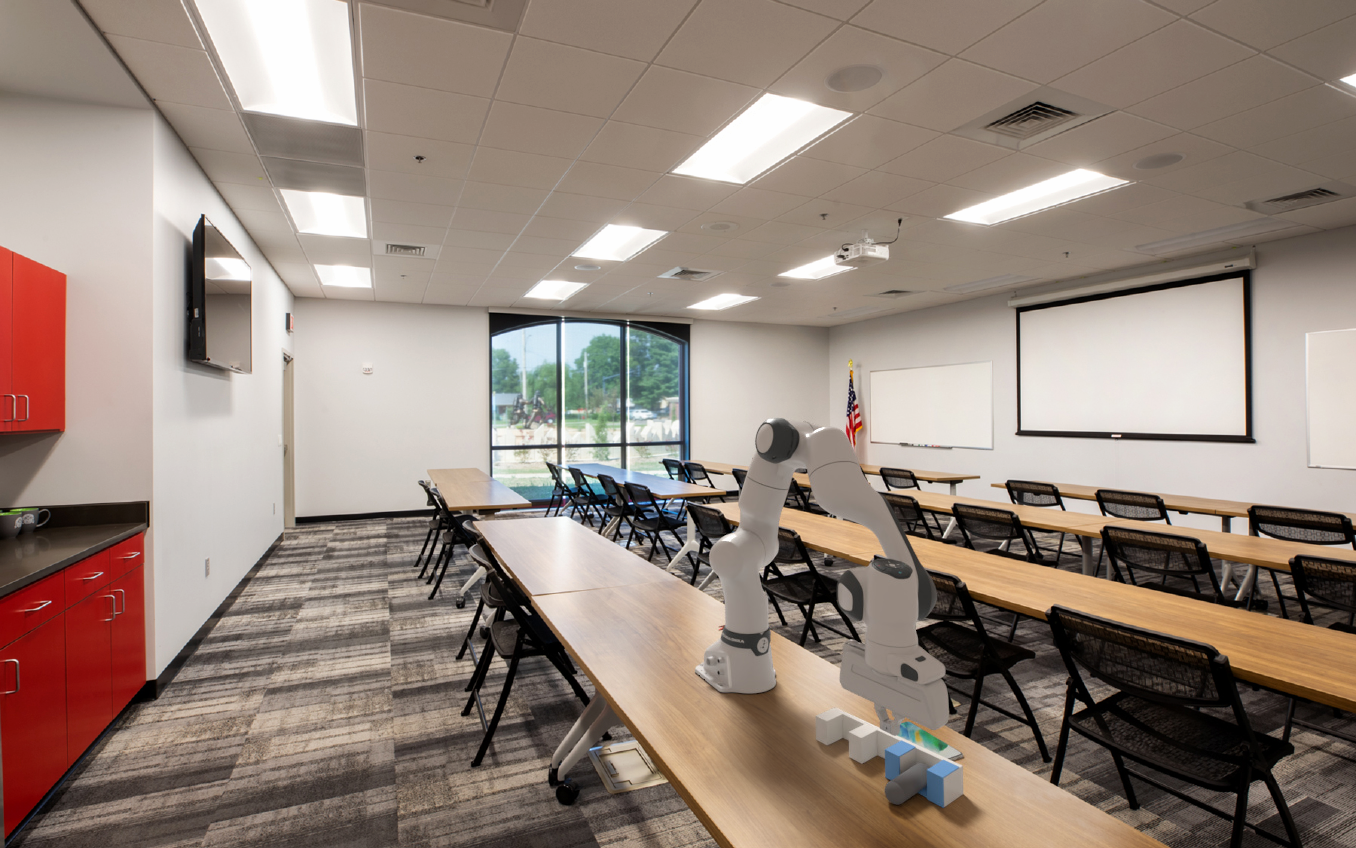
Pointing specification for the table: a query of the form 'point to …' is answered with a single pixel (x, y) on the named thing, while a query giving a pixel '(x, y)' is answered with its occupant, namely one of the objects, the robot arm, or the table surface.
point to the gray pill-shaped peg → (907, 784)
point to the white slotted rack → (892, 753)
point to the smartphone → (928, 741)
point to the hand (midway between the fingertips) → (889, 731)
